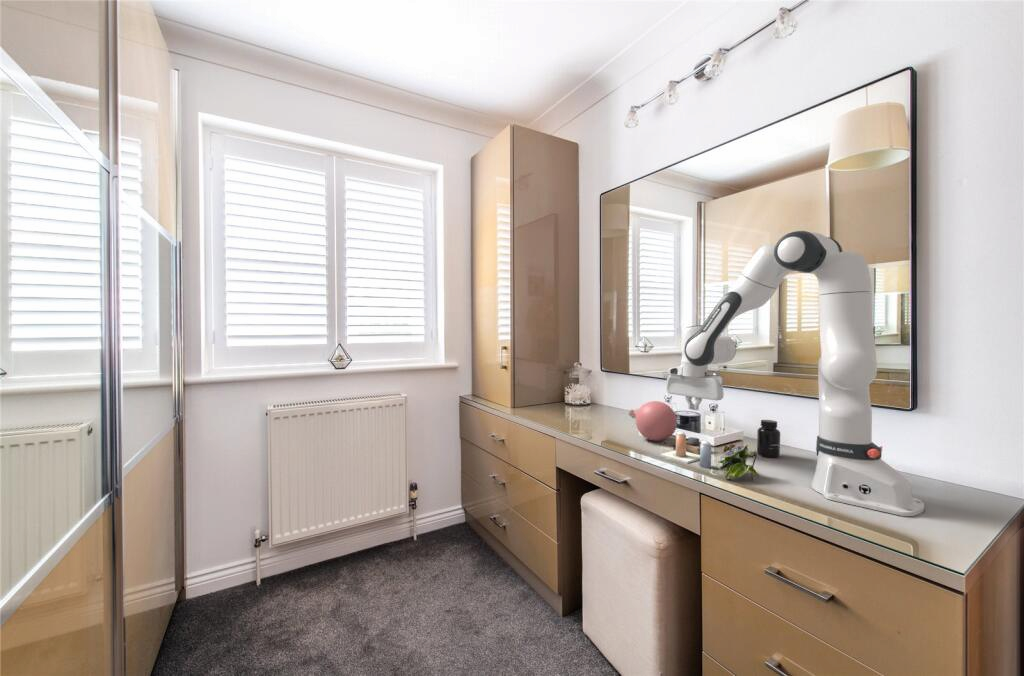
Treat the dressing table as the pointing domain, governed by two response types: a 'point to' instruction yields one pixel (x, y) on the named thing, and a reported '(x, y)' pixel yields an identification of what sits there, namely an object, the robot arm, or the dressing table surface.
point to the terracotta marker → (680, 444)
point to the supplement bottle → (768, 439)
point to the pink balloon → (655, 420)
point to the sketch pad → (688, 459)
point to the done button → (693, 441)
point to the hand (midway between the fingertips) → (693, 409)
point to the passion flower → (737, 461)
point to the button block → (693, 448)
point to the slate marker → (705, 454)
